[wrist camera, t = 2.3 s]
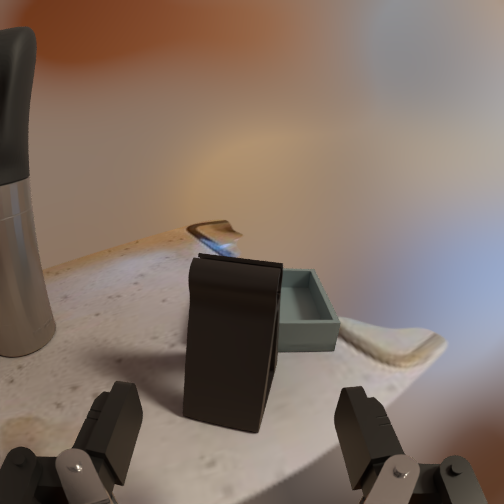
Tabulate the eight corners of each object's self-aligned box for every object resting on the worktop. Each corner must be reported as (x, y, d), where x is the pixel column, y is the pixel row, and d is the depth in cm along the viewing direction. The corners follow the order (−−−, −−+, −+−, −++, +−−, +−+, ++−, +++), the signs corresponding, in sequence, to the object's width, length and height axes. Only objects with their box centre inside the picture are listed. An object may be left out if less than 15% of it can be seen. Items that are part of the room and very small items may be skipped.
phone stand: (217, 352, 30) (216, 236, 26) (277, 363, 29) (289, 244, 25) (182, 417, 22) (166, 281, 18) (257, 435, 21) (270, 297, 17)
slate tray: (214, 350, 30) (214, 321, 29) (222, 290, 43) (222, 266, 42) (334, 350, 31) (340, 322, 30) (311, 292, 43) (314, 269, 42)
